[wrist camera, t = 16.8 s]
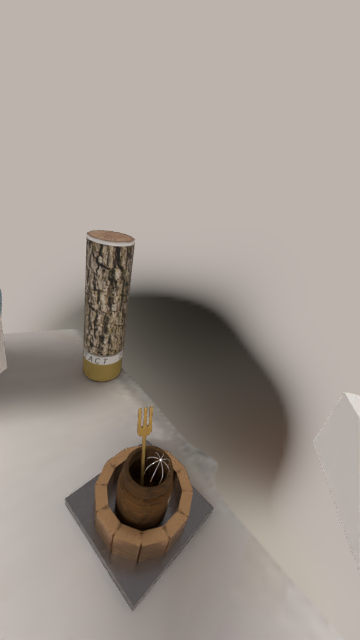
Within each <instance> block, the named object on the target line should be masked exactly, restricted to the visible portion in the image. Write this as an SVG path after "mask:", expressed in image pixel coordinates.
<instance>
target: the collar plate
mask: <svg viewBox="0 0 360 640" xmlns="http://www.w3.org/2000/svg"><path fill="white" fill-rule="evenodd" d="M141 446H142V444H140V445H139V446H138V447H131V448H127V450H126V449H124V450H123V451H121V452H120V453H118V454H117V455H116V456H114V457H113V458H111V459H110V460H108V461H107V463H106V464H105V466H104V468H103V470H102V472H101V473H100V474H99V475H97V476H96V477H95V478H93V479H92V480H91V481H89V482H88V483H86V484H85V485H84V486H82V487H81V488H79V489H78V490H77V491H75V492H74V493H72V494H71V495H70V496H68V497H67V498H66V499H65V504H66V506H67V507H68V509H69V511H70V512H71V514H72V515H73V517H74V519H75V520H76V522H77V523H78V525H79V527H80V528H81V530H82V531H83V533H84V534H85V536H86V538H87V539H88V541H89V542H90V544H91V546H92V547H93V549H94V550H95V552H96V554H97V555H98V557H99V558H100V560H101V561H102V563H103V565H104V566H105V568H106V569H107V571H108V573H109V574H110V576H111V577H112V579H113V581H114V582H115V584H116V585H117V587H118V588H119V590H120V592H121V593H122V595H123V596H124V598H125V600H126V601H127V603H128V604H129V606H130V608H131V609H132V611H133V610H134V609H135V608H136V606H137V605H138V604H139V603H140V601H141V600H142V599H143V598H144V596H145V595H146V594H147V593H148V591H149V590H150V589H151V588H152V586H153V585H154V584H155V583H156V581H157V580H158V579H159V578H160V576H161V575H162V574H163V573H164V571H165V570H166V569H167V568H168V566H169V565H170V564H171V563H172V561H173V560H174V559H175V558H176V556H177V555H178V554H179V553H180V551H181V550H182V549H183V548H184V546H185V545H186V544H187V543H188V541H189V540H190V539H191V538H192V536H193V535H194V534H195V533H196V531H197V530H198V529H199V528H200V526H201V525H202V524H203V523H204V521H205V520H206V519H207V518H208V516H209V515H210V514H211V513H212V510H213V507H212V506H211V505H210V504H209V503H208V502H207V501H206V500H205V499H204V498H203V497H202V496H201V495H200V494H199V493H198V492H197V490H196V489H195V488H194V487H193V486H192V485H191V483H190V480H189V477H188V474H187V471H186V469H185V467H184V466H183V465H182V464H181V463H180V462H179V461H178V460H177V459H176V458H175V457H174V456H173V455H172V454H171V453H168V451H165V450H163V451H165V452H166V453H167V454H168V456H169V457H170V459H171V461H172V464H173V489H172V494H171V498H170V501H169V505H168V508H167V511H166V513H165V516H164V518H163V519H162V521H161V522H160V523H159V524H158V525H157V526H156V527H155V528H153V529H150V530H146V531H140V530H137V529H134V528H131V527H129V526H126V525H123V524H122V523H121V522H120V520H119V518H118V516H117V513H116V507H115V499H116V491H117V484H118V479H119V475H120V473H121V471H122V469H123V466H124V463H125V461H126V459H127V457H128V455H129V454H130V453H131V452H132V451H133V450H135V449H136V448H139V447H141ZM146 446H152V445H151V444H150V443H149V442H148V441H147V440H146Z"/></svg>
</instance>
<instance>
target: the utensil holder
mask: <svg viewBox="0 0 360 640" xmlns="http://www.w3.org/2000/svg"><path fill="white" fill-rule="evenodd" d="M141 413H142V409H141V408H140V409H139V411H138V428H137V434H138V435H139V436H142V437H143V439H142V446H141V447H139V448H136V449H135V450H133V451H132V452H131V453H130V454H129V455H128V457H127V459H126V461H125V463H124V466H123V469H122V471H121V473H120V475H119V479H118V484H117V491H116V499H115V507H116V513H117V516H118V518H119V520H120V522H121V523H122V524H123V525H126V526H129V527H131V528H134V529H137V530H140V531H146V530H150V529H153V528H155V527H156V526H157V525H158V524H159V523H160V522H161V521H162V519H163V518H164V516H165V513H166V511H167V508H168V505H169V501H170V498H171V494H172V489H173V464H172V461H171V459H170V457H169V456H168V454H167V453H166V452H165V451H163V450H162V449H160V448H158V447H155V446H146V436H147V435H149V434H150V433H151V432H152V415H153V407H152V406H151V407H150V413H149V425H147V407H145V408H144V421H143V426H142V427H141Z"/></svg>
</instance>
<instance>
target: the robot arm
mask: <svg viewBox="0 0 360 640" xmlns="http://www.w3.org/2000/svg"><path fill="white" fill-rule="evenodd" d="M1 301H2V296H1V290H0V374H1V373H2V372H3V371H4V370H5V369H6V368H7V361H6V354H5V346H4V338H3V331H2V323H1V306H2V303H1ZM313 444H314V446H315V449H316V452H317V455H318V458H319V461H320V463H321V466H322V469H323V472H324V475H325V478H326V480H327V483H328V486H329V489H330V492H331V494H332V497H333V500H334V503H335V506H336V508H337V511H338V514H339V517H340V520H341V523H342V525H343V528H344V531H345V533H346V537H347V539H348V542H349V545H350V548H351V551H352V554H353V556H354V559H355V562H356V564H357V567H358V570H359V573H360V395H356V394H351V393H347V392H344V393H343V394H342V396H341V397H340V399H339V401H338V402H337V404H336V406H335V407H334V409H333V410H332V412H331V414H330V415H329V417H328V418H327V420H326V422H325V423H324V425H323V427H322V428H321V430H320V431H319V433H318V435H317V436H316V438H315V439H314V441H313Z"/></svg>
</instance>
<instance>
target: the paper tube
mask: <svg viewBox="0 0 360 640" xmlns="http://www.w3.org/2000/svg"><path fill="white" fill-rule="evenodd" d="M87 234H88V235H87V246H86V282H85V316H84V317H85V318H84V351H83V354H84V357H83V371H84V374H85V375H86V376H87V377H88V378H89V379H91V380H94V381H99V382H105V381H110V380H112V379H114V378H116V377H117V376H118V375H119V373H120V371H121V364H122V355H123V346H124V336H125V328H126V318H127V308H128V300H129V291H130V282H131V272H132V263H133V253H134V245H135V242H134V241H135V239H134V238H133V237H131V236H129V235H126V234H122V233H118V232H113V231H104V230H95V231H89V232H87Z"/></svg>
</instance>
